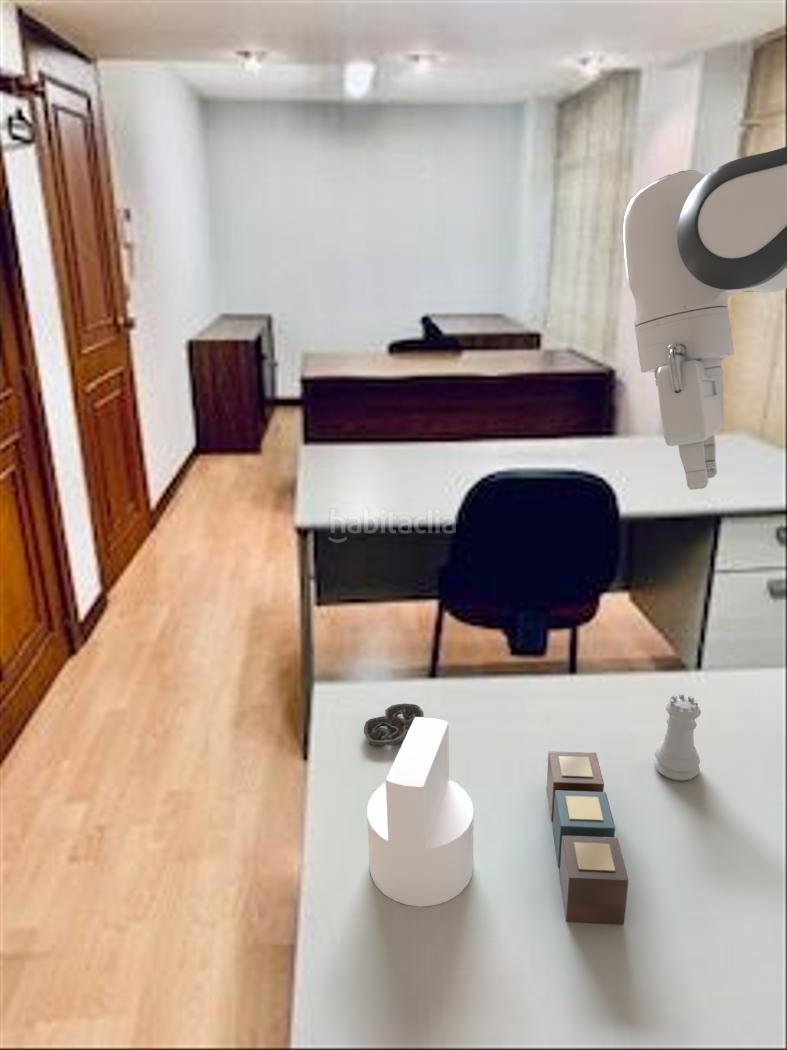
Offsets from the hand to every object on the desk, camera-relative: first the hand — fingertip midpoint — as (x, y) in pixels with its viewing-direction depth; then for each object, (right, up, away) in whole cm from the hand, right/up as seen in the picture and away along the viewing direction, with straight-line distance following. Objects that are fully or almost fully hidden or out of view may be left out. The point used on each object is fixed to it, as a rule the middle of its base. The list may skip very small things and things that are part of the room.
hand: (703, 482), depth 78 cm
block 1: (-15, -31, -5) cm, 35 cm away
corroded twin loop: (-32, -27, +7) cm, 42 cm away
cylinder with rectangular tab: (-29, -34, -11) cm, 46 cm away
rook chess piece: (-3, -29, -1) cm, 29 cm away
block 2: (-16, -35, -16) cm, 41 cm away
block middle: (-15, -33, -10) cm, 38 cm away
